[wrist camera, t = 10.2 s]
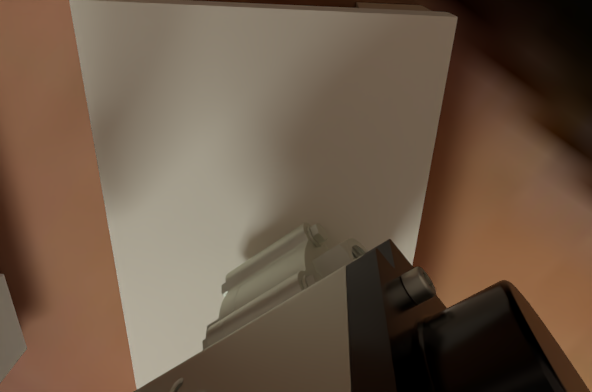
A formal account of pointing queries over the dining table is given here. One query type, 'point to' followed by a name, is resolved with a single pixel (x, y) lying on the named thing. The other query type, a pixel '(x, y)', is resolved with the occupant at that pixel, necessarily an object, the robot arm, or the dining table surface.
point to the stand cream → (251, 141)
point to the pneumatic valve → (365, 329)
